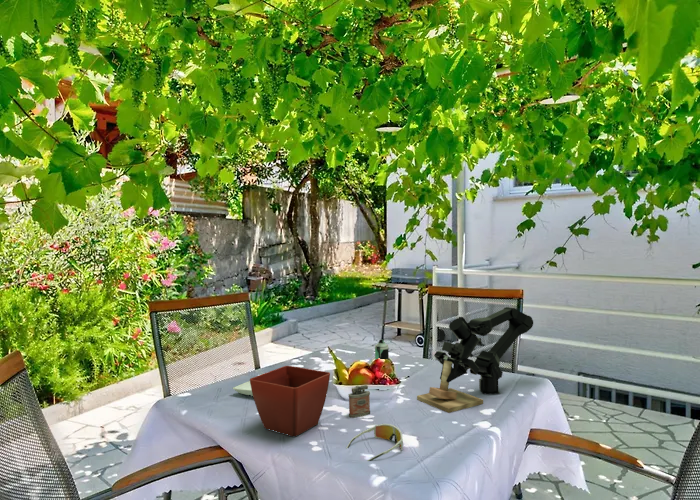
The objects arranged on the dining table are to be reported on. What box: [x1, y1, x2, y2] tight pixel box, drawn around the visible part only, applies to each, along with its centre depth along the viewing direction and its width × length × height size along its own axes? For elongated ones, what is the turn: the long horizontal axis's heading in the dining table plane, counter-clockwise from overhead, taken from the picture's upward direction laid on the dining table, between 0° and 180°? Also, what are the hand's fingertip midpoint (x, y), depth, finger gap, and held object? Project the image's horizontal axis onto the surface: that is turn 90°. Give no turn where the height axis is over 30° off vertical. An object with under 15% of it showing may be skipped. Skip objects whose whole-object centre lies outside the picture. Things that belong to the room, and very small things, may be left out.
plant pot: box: [249, 365, 331, 437], centre depth 156 cm, size 19×19×17 cm
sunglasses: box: [345, 423, 404, 462], centre depth 140 cm, size 14×15×5 cm
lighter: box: [347, 384, 371, 418], centre depth 167 cm, size 8×3×10 cm, turn 117°
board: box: [416, 387, 484, 414], centre depth 179 cm, size 17×17×2 cm
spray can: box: [374, 338, 390, 361], centre depth 196 cm, size 6×6×20 cm
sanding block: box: [428, 360, 457, 400], centre depth 177 cm, size 8×6×13 cm
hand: (444, 380), depth 177 cm, fingers closed on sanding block, 3 cm apart
